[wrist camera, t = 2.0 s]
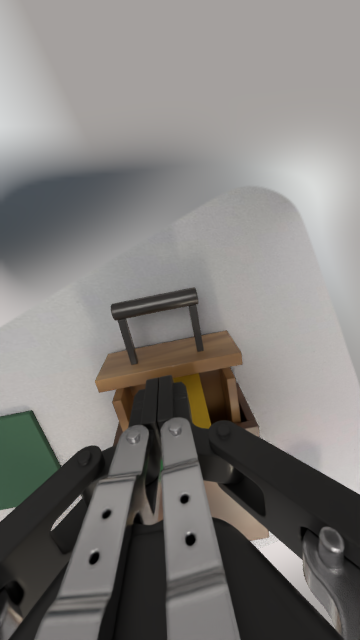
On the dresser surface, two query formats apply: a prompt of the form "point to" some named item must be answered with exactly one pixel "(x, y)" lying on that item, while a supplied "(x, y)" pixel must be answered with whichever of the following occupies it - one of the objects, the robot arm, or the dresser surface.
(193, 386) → the sponge
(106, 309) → the dresser surface
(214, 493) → the cabinet
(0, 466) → the mat
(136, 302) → the drawer
